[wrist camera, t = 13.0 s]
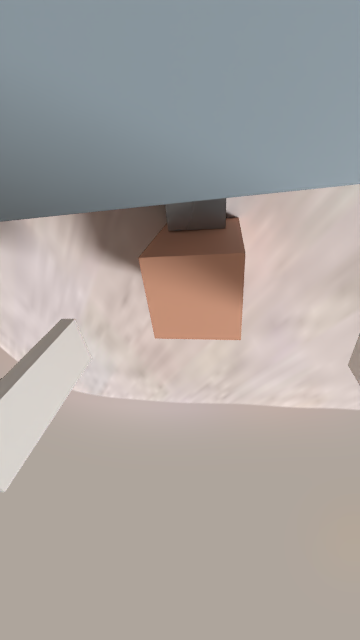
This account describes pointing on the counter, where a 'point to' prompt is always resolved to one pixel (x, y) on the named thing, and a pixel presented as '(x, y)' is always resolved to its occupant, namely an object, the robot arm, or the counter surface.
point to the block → (195, 282)
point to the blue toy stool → (174, 101)
